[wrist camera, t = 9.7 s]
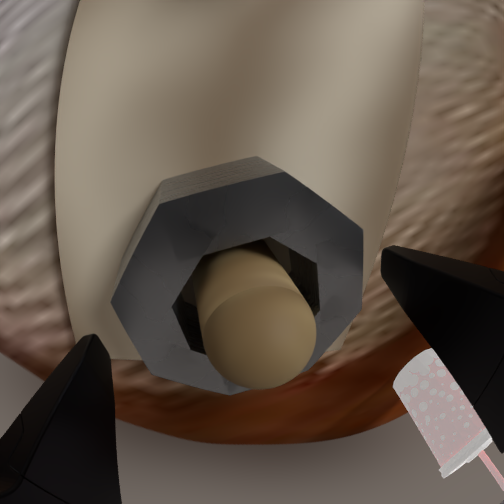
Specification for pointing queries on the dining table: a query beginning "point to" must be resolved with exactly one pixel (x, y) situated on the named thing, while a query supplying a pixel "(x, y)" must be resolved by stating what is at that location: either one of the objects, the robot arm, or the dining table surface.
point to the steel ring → (226, 236)
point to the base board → (228, 149)
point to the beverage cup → (443, 414)
